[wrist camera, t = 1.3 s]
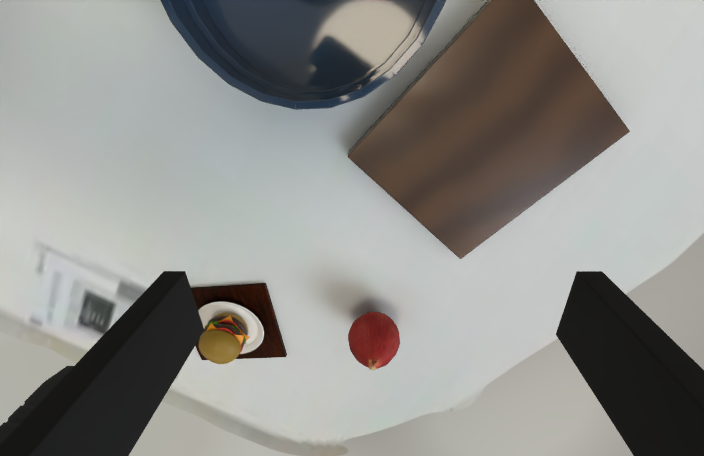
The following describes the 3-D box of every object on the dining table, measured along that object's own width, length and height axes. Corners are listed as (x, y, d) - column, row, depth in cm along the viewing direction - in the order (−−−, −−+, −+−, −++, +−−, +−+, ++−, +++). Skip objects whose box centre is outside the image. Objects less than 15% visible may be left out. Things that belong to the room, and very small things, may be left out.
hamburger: (203, 357, 47) (183, 392, 42) (172, 289, 41) (145, 320, 36) (286, 354, 45) (276, 390, 41) (265, 283, 40) (250, 315, 35)
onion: (405, 324, 42) (411, 379, 35) (364, 338, 43) (362, 394, 36) (384, 290, 39) (386, 343, 32) (342, 307, 41) (335, 360, 34)
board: (348, 152, 32) (347, 156, 31) (508, -22, 25) (515, -26, 24) (457, 251, 36) (460, 259, 35) (619, 127, 29) (630, 131, 28)
